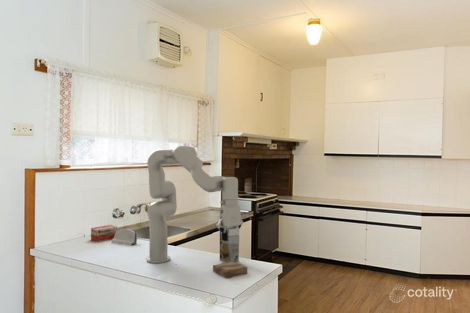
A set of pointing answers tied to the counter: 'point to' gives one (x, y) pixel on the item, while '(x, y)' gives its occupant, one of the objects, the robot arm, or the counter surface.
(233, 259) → the coffee box
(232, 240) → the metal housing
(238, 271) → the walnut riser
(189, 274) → the counter surface
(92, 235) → the medicine box
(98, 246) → the counter surface
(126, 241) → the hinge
